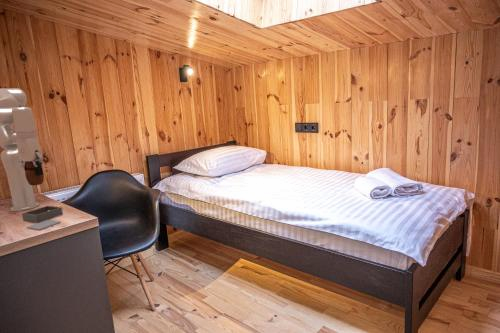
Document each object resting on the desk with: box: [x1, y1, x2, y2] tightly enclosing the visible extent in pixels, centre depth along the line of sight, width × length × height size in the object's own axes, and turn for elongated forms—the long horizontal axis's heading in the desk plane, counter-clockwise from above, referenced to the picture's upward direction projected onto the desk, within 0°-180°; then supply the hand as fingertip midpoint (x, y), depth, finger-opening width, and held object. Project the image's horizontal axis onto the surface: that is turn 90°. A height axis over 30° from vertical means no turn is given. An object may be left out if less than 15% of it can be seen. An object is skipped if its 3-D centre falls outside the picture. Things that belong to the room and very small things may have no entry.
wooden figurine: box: [25, 159, 45, 187], centre depth 146 cm, size 7×6×15 cm
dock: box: [21, 205, 64, 224], centre depth 149 cm, size 11×12×4 cm
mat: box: [26, 219, 62, 231], centre depth 138 cm, size 9×9×1 cm
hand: (34, 174), depth 146 cm, fingers closed on wooden figurine, 6 cm apart
